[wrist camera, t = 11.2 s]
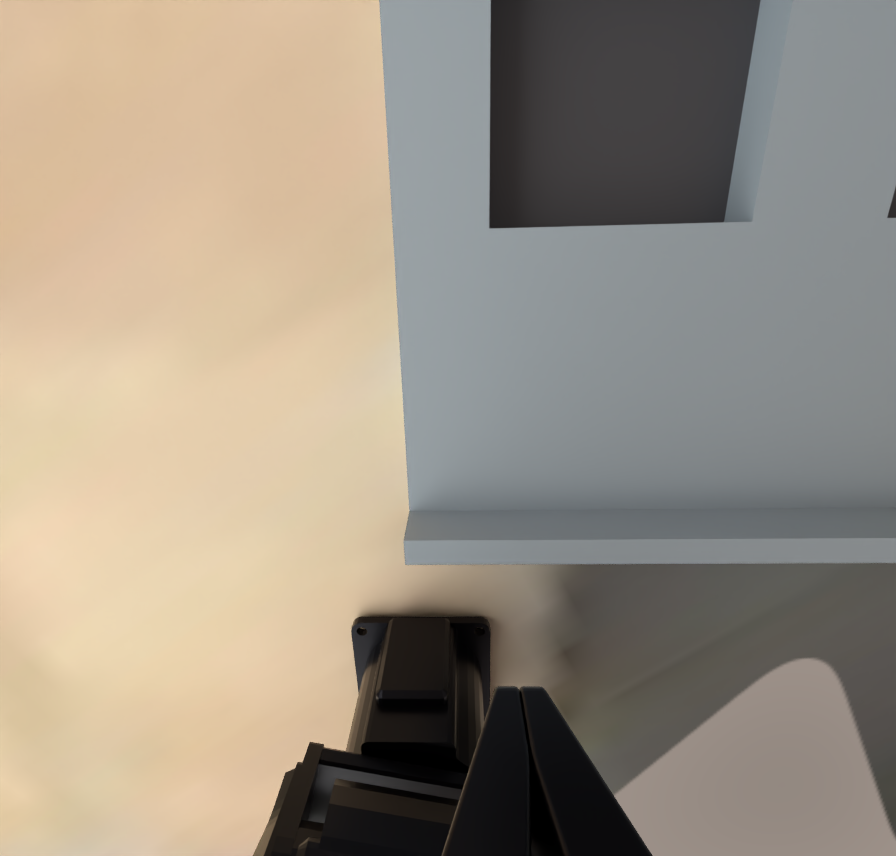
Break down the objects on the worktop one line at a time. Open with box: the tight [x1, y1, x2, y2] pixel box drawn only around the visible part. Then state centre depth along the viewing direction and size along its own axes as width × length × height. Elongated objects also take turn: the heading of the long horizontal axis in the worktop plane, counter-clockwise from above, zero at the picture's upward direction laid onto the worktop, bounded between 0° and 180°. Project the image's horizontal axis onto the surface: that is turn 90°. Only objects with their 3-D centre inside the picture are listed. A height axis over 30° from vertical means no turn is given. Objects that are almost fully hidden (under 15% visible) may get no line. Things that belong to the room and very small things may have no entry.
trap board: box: [379, 0, 896, 565], centre depth 14 cm, size 20×28×5 cm
